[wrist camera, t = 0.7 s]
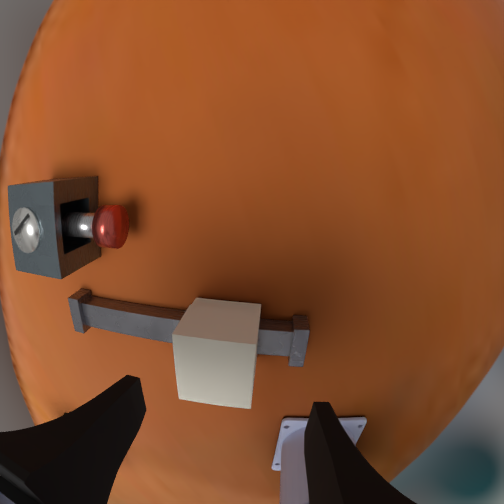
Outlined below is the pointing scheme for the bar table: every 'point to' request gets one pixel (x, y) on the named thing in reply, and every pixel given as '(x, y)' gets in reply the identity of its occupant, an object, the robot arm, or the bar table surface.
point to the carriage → (217, 352)
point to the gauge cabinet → (51, 225)
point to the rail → (166, 320)
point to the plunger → (99, 225)
